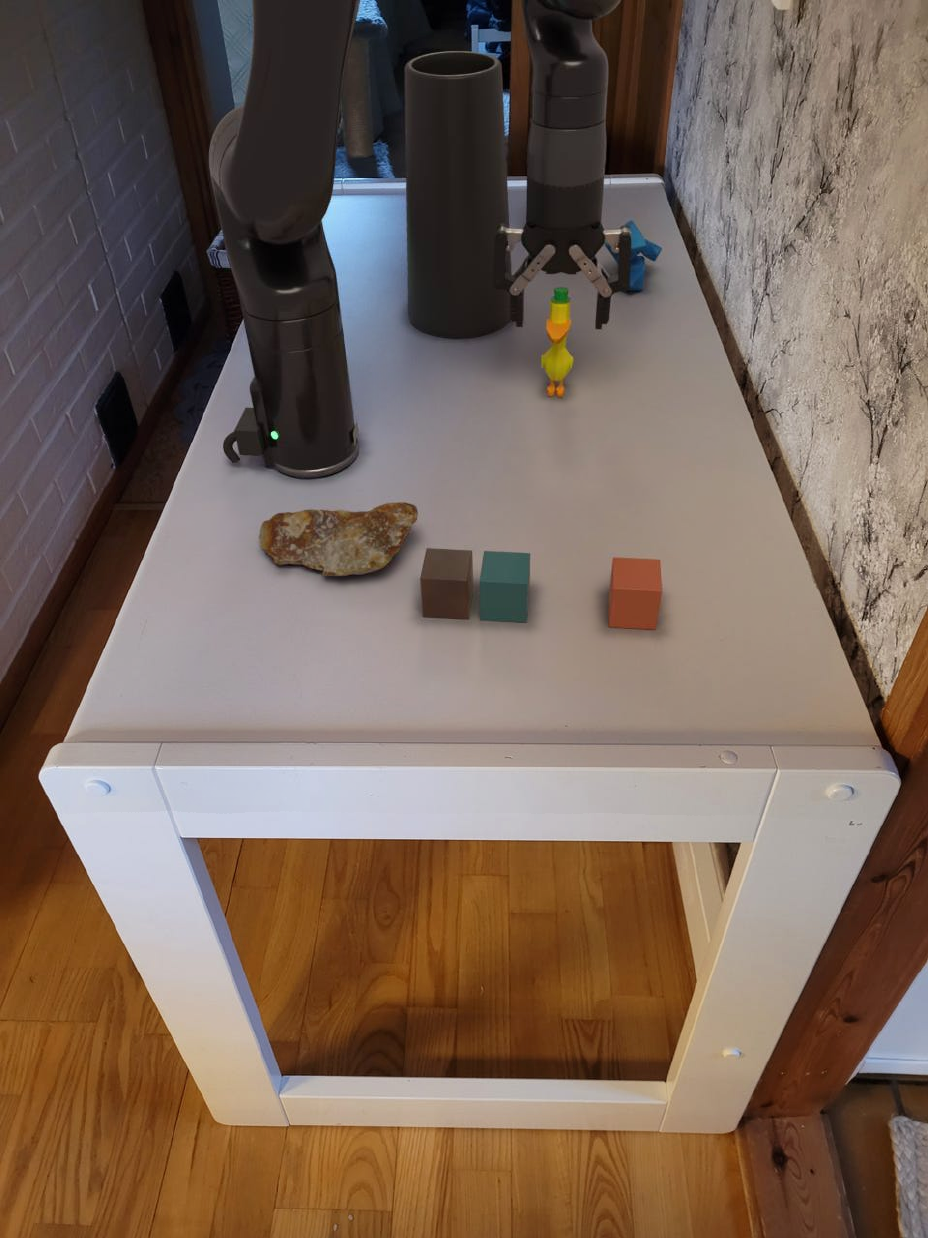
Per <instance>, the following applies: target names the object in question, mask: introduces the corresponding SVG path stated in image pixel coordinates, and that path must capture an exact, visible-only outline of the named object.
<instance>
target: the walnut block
mask: <svg viewBox="0 0 928 1238" xmlns="http://www.w3.org/2000/svg"><path fill="white" fill-rule="evenodd" d="M425 549H426V550H425V554H424V559H423V562H422V563H423V564H422V567H421V568H422V569H421V573H420V577H419V579H420V593H421V607H422V616H423V618H439V619H457V620H458V619H459V620H470V613H471V606H472V601H473V594H474V562H473V560H474V559H473V550H472V549H471V550H470V549H452V548H451V549H449V548H431V547H427V548H425Z"/></svg>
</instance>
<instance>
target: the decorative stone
mask: <svg viewBox="0 0 928 1238" xmlns="http://www.w3.org/2000/svg"><path fill="white" fill-rule="evenodd" d="M418 516H419V511H418V507H417V506H416V505H415V504H413V503H408V502H406V501H405V502H403V501H399V502H387V503H383V504H380V505H378V506H376V507H373V508H372V509H371V510H369V511H368V510H366V511H365V510H364V511H363V510H362V511H361V510H360V511H349V510H344V509H337V510H328V509H304V510H300V511H295V512H292V511H291V512H290V511H286V512H278V513H276V514H274V515H272V517H270V519H268V520H264V521H263V522H262V524H261V525H260V528H259V534H258V540H259V544H260V547H261V549H262V550H263V551H264V552H265V553H267V555H268V556H270V557H271V558H272V560H273V563H274V564H276V565H279V566H282V565H288V564H290V565H303V566H304V567H306V568H308V569H312V570H313V569H314V570H317V571H322V576H325V577H326V576H329V577H346V576H350V575H356V576H358V575H365V574H366V575H367V574H369V573H373V572H376V571H379V570H381V569H383V568H385V567H386V566H387V565H388V564H389V563H390V562H392V558H393V557H394V556H395V555H396V554H397V553H398V552H400V550H401V548H402V547H403V544H404V540H405V538H406V537H407V536H408V534H409V532H410V531H411V529H412V527H413V524H416V522H417V520H418Z"/></svg>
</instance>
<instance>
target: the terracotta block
mask: <svg viewBox="0 0 928 1238" xmlns="http://www.w3.org/2000/svg"><path fill="white" fill-rule="evenodd" d="M611 561H612V562H611V571H610V580H609V589H608V627H609V628H616V629H619V628H620V629H633V630H635V629H636V630H653V631H654V630H655V631H656V630H657V626H658V621H659V615H660V614H659V613H660V608H661V603H662V595H663V580H662V579H663V578H662V564H661V559H656V558H655V559H654V558H635V557H634V558H633V557H612V560H611Z"/></svg>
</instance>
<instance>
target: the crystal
mask: <svg viewBox="0 0 928 1238" xmlns="http://www.w3.org/2000/svg"><path fill="white" fill-rule="evenodd" d="M624 225H628V226H629V227H630V228H631V268H630V288H629V290H628V291H627V292H642V291H644V284H645V275H646V263H645V259H648V260H650V261H652V262H656V261H657V259H658V257H659V255H660V254H661V252H662V251H663V247H662V246H660V245H658V244H656V243H654V242H652V241H651V240H648V239H646V238H645V237H644V236H643V234H642V232H641V231H640V230H639V227H637V225H636V224H635V222H634V221H633V220H629V221H628V222H626V223H624ZM604 247H606V249H607V251H608V252H609V254H610V255H611V257H612V259H614V261H615V263H616V264H617V265H618V253H614V252H612V250H611V246H610V245H609V244H608V243H604ZM640 254H642V255H640Z"/></svg>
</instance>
